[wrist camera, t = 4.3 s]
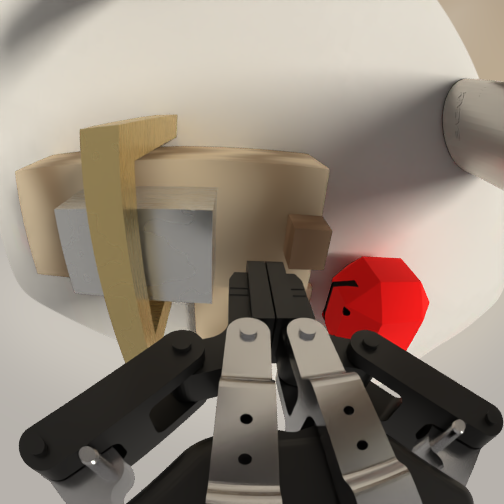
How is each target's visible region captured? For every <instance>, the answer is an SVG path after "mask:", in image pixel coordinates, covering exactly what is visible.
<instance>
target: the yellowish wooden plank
mask: <svg viewBox="0 0 504 504" xmlns="http://www.w3.org/2000/svg"><path fill="white" fill-rule="evenodd" d="M176 134H177V115H154V116H147V117H140V118H134V119H128V120H122V121H117V122H111V123H106V124H102V125H97V126H92V127H88V128H84V129H80V150H81V165H82V177H83V187H84V196H85V203H86V211H87V217H88V224H89V230H90V236H91V241H92V246H93V251H94V256H95V261H96V265H97V270H98V274H99V278H100V282H101V286H102V290H103V294H104V298H105V302H106V305H107V309H108V312H109V316H110V319H111V322H112V325H113V329H114V332H115V335H116V338H117V341H118V344H119V346H120V349H121V352H122V355H123V358H124V360H125V363H127V362H128V361H130V360H131V359H133V358H134V357H135V356H137V355H138V354H140V353H141V352H143V351H144V350H146V349H147V348H148V347H150V346H151V345H153V344H154V343H156V342H157V341H158V340H160V339H161V338H163V336H164V332H165V328H166V324H167V320H168V316H169V312H170V308H171V304H172V302H170V301H156V300H149V299H148V293H147V287H146V281H145V274H144V267H143V259H142V251H141V243H140V234H139V224H138V213H137V199H136V183H135V160H137V159H139V158H140V157H142V156H144V155H145V154H147V153H149V152H151V151H152V150H154V149H156V148H158V147H159V146H161V145H163V144H165V143H167V142H168V141H170V140H172V139H174V138H176Z"/></svg>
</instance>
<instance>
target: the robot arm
mask: <svg viewBox="0 0 504 504" xmlns="http://www.w3.org/2000/svg"><path fill="white" fill-rule="evenodd" d="M443 130H444V137H445V141H446V145H447V148H448V150H449V153H450V155H451V156H452V158H453V160H454V161H455V163H456V164H457V165H458V166H459V167H460V168H461V169H463V170H464V171H466V172H468V173H470V174H473V175H475V176H477V177H479V178H481V179H483V180H485V181H487V182H489V183H491V184H492V185H494V186H496V187H498V188H500V189H502V190H504V82H500V81H492V80H481V79H463V80H460V81H458V82H457V83H456V84H455V85H453V87H452V88H451V90H450V91H449V93H448V95H447V98H446V101H445V105H444V110H443ZM271 363H276V364H277V373H276V384H277V388H278V392H279V397H280V401H281V405H282V409H283V413H284V417H285V426H286V427H285V431H280V430H278V427H277V426H278V425H277V404H276V403H277V402H276V384H275V380H272V365H271ZM372 377H373V378H375V379H376V380H378V381H379V382H381V383H382V384H384V385H386V386H387V387H388V388H390V389H391V390H393V391H394V392H396V393H398V394H399V395H400V396H401V398H396V397H394V396H392V395H391V394H389V393H388V392H386V391H385V390H383V389H382V388H380V387H379V386H377V385H376V384H374V383H373V382H371V381H370V380H371V379H372ZM217 396H218V398H217V406H216V416H215V425H214V433H213V437H210V438H207V439H204V440H202V441H199V442H198V443H196V444H194V445H192V446H191V447H189V448H188V449H186V450H185V451H184V452H183V453H182V454H181V455H180V456H179V457H178V458H177V459H175V460H174V461H173V462H172V463H171V464H170V465H169V467H167V468H166V469H165V470H164V471H163V472H162V473H161V474H160V475H159V476H158V477H157V478H155V479H154V480H153V481H152V482H151V483H150V484H149V485H148V486H147V487H145V488H144V489H143V490H142V491H141V492H140V493H138V494H137V495H136V496H135V497H134V498H133V499H131V500H130V501H129V502H128V503H127V504H474V503H473V498H472V496H471V494H470V492H469V490H468V489H467V488H466V487H465V486H466V484H467V482H468V479H469V477H470V475H471V472H472V470H473V468H474V465H475V463H476V460H477V457H478V454H479V452H480V449H481V448H482V447H483V446H484V445H485V444H486V443H488V442H489V441H490V440H492V439H493V438H494V437H495V436H496V435H498V434H499V433H500V431H501V430H502V427H503V418H502V415H501V413H500V411H499V410H498V408H496V407H495V406H494V405H493V404H491V403H489V402H488V401H486V400H484V399H483V398H481V397H479V396H478V395H476V394H474V393H473V392H471V391H470V390H468V389H467V388H465V387H463V386H462V385H460V384H458V383H457V382H455V381H454V380H452V379H450V378H449V377H447V376H446V375H444V374H442V373H441V372H439V371H437V370H436V369H434V368H433V367H431V366H429V365H428V364H426V363H424V362H423V361H421V360H420V359H418V358H416V357H415V356H413V355H412V354H410V353H408V352H407V351H405V350H404V349H402V348H400V347H399V346H397V345H395V344H394V343H392V342H391V341H389V340H387V339H386V338H384V337H383V336H381V335H379V334H378V333H376V332H373V331H370V330H360V331H357V332H355V333H354V334H353V335H352V337H351V339H347V338H342V337H337V336H333V335H331V334H328V332H327V330H326V328H325V327H324V326H323V325H322V324H321V323H320V322H318V321H316V320H315V317H314V314H313V311H312V308H311V305H310V303H309V300H308V297H307V294H306V291H305V288H304V285H303V282H302V280H301V279H300V278H299V277H297V276H296V275H295V274H286V270H285V267H284V264H283V262H274V261H265V262H264V261H247V264H246V272H234V273H233V274H232V276H231V277H230V279H229V295H228V326H227V328H226V329H225V330H224V331H223V332H222V333H220V334H219V335H216V336H214V337H210V338H205V339H202V338H201V337H200V336H199V335H198V334H196V333H194V332H192V331H187V330H178V331H174V332H171V333H169V334H167V335H166V336H164V337H163V338H161V339H160V340H158V341H157V342H156V343H154V344H153V345H151V346H150V347H148V348H147V349H146V350H144V351H143V352H141V353H140V354H138V355H137V356H135V357H134V358H133V359H131V360H130V361H128V362H127V363H125V364H124V365H122V366H121V367H120V368H118V369H117V370H115V371H114V372H112V373H111V374H109V375H108V376H106V377H105V378H103V379H102V380H101V381H99V382H97V383H96V384H95V385H93V386H92V387H90V388H89V389H87V390H86V391H84V392H83V393H81V394H80V395H78V396H77V397H75V398H74V399H72V400H71V401H69V402H68V403H66V404H65V405H64V406H62V407H60V408H59V409H57V410H56V411H54V412H53V413H51V414H50V415H48V416H46V417H45V418H43V419H42V420H40V421H39V422H37V423H36V424H34V425H33V426H31V427H30V428H28V429H27V430H25V432H24V433H23V434H22V436H21V438H20V441H19V451H20V455H21V457H22V459H23V461H24V462H25V463H26V464H27V465H28V466H29V467H31V468H32V469H33V470H35V471H37V472H38V473H40V474H41V475H42V476H43V477H44V478H46V479H47V480H49V481H50V482H51V483H52V485H53V486H54V487H55V489H56V490H57V491H58V493H59V494H60V496H61V497H62V498H63V500H64V501H65V502H66V504H124V498H125V495H126V494H127V492H128V491H129V490H130V489H131V488H132V486H133V484H134V480H135V476H134V472H133V470H132V468H131V466H132V465H133V464H134V463H136V462H137V461H138V460H139V459H141V458H142V457H143V456H144V455H146V454H147V453H148V452H149V451H150V450H152V449H153V448H154V447H155V446H156V445H158V444H159V443H160V442H161V441H162V440H164V439H165V438H166V437H167V436H168V435H169V434H170V433H172V432H173V431H174V430H175V429H176V428H177V427H179V426H180V425H181V424H182V423H183V422H184V421H185V420H187V419H188V417H190V416H191V415H192V414H193V413H194V412H195V411H196V410H197V409H199V408H200V407H201V406H202V405H203V404H204V403H205V402H206V400H207V399H209V398H213V397H217Z"/></svg>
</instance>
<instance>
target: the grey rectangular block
mask: <svg viewBox="0 0 504 504" xmlns="http://www.w3.org/2000/svg"><path fill="white" fill-rule="evenodd" d="M136 199H137V213H138V224H139V234H140V243H141V251H142V259H143V267H144V274H145V281H146V287H147V293H148V299H149V300H156V301H170V302H187V303H207V304H212V298H213V287H214V276H215V260H216V215H217V187H184V186H136ZM54 212H55V217H56V222H57V227H58V232H59V237H60V241H61V246H62V250H63V254H64V258H65V262H66V266H67V269H68V273H69V276H70V280H71V283H72V286H73V290H74V293H80V294H89V295H98V296H104V294H103V290H102V286H101V282H100V278H99V274H98V270H97V265H96V261H95V256H94V251H93V246H92V241H91V236H90V230H89V224H88V217H87V211H86V203H85V196H84V189H82V190H81V191H79V192H78V193H76V194H75V195H73V196H72V197H71V198H69V199H68V200H66V201H65V202H64V203H62V204H61V205H60V206H58V207H57V208H55V209H54Z"/></svg>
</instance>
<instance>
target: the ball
mask: <svg viewBox="0 0 504 504" xmlns="http://www.w3.org/2000/svg"><path fill="white" fill-rule="evenodd" d="M428 305H429V300H428V298H427V295H426V293H425V290H424V288H423V285H422V283H421V281H420V280H419V279H418V278H417V277H416V275H415V274H414V273H413V272H412V271H411V270H410V268H409V267H408V266H407V265H406V264H405V263H404V262H403V260H402V259H401V258H382V257H361V258H359V259H357V260H356V261H354V262H352V263H350V264H349V265H347V266H346V267H345V268H344V269H343V270H341V271H340V272H339V273H338V274H337V275H336V276H335V277H333V279H332V284H331V288H330V291H329V295H328V298H327V301H326V305H325V308H324V310H323V313H322V316H323V319H324V320H325V324H326V327H327V330H328V333H329V334H331V335H333V336H337V337H342V338H347V339H351V337H352V335H353V334H354V333H355V332H357V331H360V330H370V331H373V332H376V333H378V334H379V335H381V336H383V337H384V338H386V339H387V340H389V341H391V342H392V343H394V344H395V345H397V346H399V347H400V348H402V349H404V350H405V351H406V350H407V348H408V347H409V345H410V343H411V342H412V340H413V338H414V336H415V335H416V333H417V331H418V329H419V328H420V326H421V324H422V322H423V320H424V317H425V314H426V311H427V308H428Z"/></svg>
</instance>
